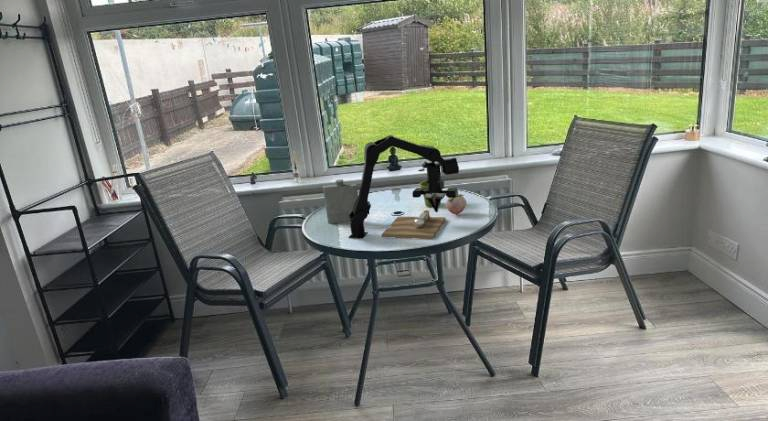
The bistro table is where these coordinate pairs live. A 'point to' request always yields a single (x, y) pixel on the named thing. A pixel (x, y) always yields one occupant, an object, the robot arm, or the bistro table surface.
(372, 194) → the bistro table surface
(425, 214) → the lever
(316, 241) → the bistro table surface
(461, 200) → the decorative fruit
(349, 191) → the hip flask
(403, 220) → the board
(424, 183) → the plant pot
